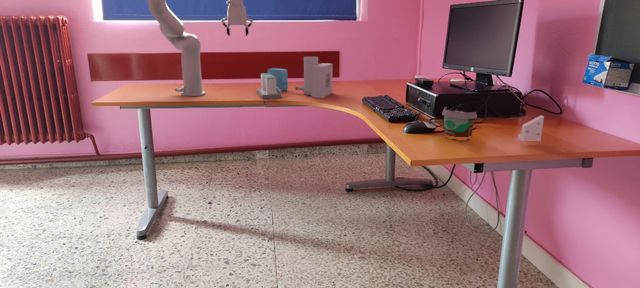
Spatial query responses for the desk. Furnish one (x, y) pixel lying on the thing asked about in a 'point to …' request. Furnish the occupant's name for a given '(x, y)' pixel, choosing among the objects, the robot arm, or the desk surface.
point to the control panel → (317, 78)
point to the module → (264, 81)
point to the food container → (458, 123)
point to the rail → (264, 96)
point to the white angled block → (532, 130)
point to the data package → (280, 78)
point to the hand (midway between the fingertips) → (237, 35)
